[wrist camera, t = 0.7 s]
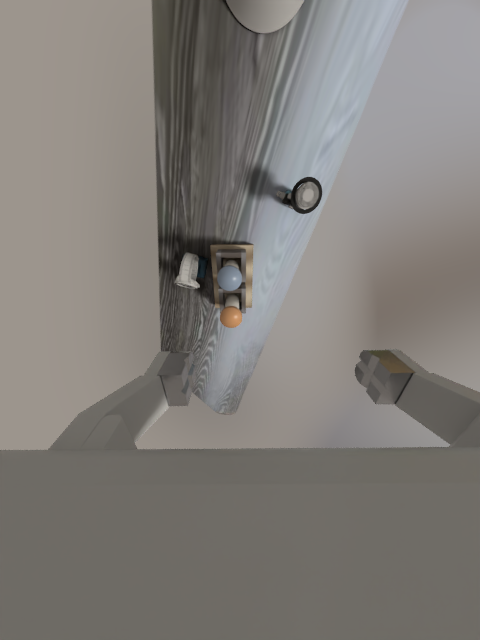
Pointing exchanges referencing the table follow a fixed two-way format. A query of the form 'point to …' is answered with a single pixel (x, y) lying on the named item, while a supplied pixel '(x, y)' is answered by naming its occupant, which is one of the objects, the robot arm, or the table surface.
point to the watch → (191, 270)
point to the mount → (245, 262)
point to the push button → (303, 195)
